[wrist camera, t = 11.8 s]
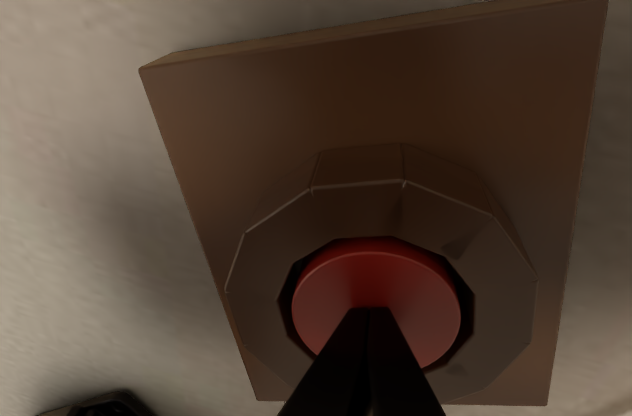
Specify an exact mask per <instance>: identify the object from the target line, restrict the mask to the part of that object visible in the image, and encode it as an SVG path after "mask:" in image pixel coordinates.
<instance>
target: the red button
mask: <svg viewBox="0 0 632 416" xmlns="http://www.w3.org/2000/svg"><path fill="white" fill-rule="evenodd" d="M353 307H367V308H368V309H369V310H370V308H371V307H388V308H389V309H390V310H391V312H392V314H393V316H394V318H395V319H396V321H397V323H398V325H399V327H400V329H401V331H402V333H403V335H404V337H405V338H406V340H407V342H408V344H409V346H410V348H411V350H412V352H413V354H414V356H415V357H416V359H417V361H418V363H419V365H420V367H421V368H423V367H425V366H427V365H429V364H431V363H433V362H434V361H436V360H437V359H439V358H440V357H441V356H442V355H443V354H444V353H445V352H446V351H447V350H448V349H449V348H450V347H451V345H452V344H453V342H454V341H455V339H456V336H457V334H458V331H459V328H460V323H461V310H460V305H459V300H458V295H457V290H456V286H455V281H454V276H453V272H452V267H451V264H450V263H449V262H448V260H447V259H446V258H445V257H444V256H442V255H439V254H437V253H434V252H432V251H429V250H427V249H424V248H422V247H419V246H416V245H414V244H411V243H409V242H406V241H404V240H401V239H399V238H396V237H394V236H375V237H358V238H341V239H334V240H332V241H331V242H329V243H327V244H326V245H324V246H322V247H320V248H319V249H317V250H315V251H314V252H312V253H310V254H309V255H307V256H305V257H304V258H303V261H302V265H301V269H300V272H299V276H298V280H297V283H296V287H295V291H294V295H293V299H292V318H293V322H294V325H295V328H296V330H297V332H298V334H299V336H300V338H301V339H302V340H303V342H304V343H305V344H306V345H307V346H308V347H309V349H310V350H312V351H313V352H314V353H315V354H316V355H318V354H319V352H320V351H321V349H322V348H323V347H324V345H325V344H326V342H327V341H328V339H329V338H330V336H331V335H332V333H333V332H334V330H335V329H336V327H337V326H338V324H339V323H340V321H341V320H342V318H343V317H344V315H345V314H346V312H347V311H348V310H349V309H350V308H353Z"/></svg>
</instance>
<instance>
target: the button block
mask: <svg viewBox="0 0 632 416" xmlns="http://www.w3.org/2000/svg"><path fill="white" fill-rule="evenodd" d="M608 2H609V0H494V1H488V2H482V3H476V4H469V5H463V6H457V7H451V8H445V9H438V10H432V11H426V12H420V13H414V14H408V15H401V16H395V17H389V18H383V19H377V20H371V21H364V22H358V23H352V24H346V25H340V26H334V27H327V28H321V29H315V30H309V31H303V32H296V33H290V34H284V35H278V36H272V37H266V38H259V39H253V40H247V41H241V42H235V43H229V44H222V45H216V46H210V47H204V48H198V49H192V50H185V51H179V52H173V53H170V54H168V55H166V56H164V57H161V58H159V59H157V60H155V61H153V62H150V63H148V64H146V65H144V66H142V67H140V68H139V74H140V77H141V80H142V82H143V85H144V88H145V91H146V94H147V96H148V99H149V102H150V105H151V107H152V110H153V113H154V116H155V119H156V121H157V124H158V127H159V130H160V132H161V135H162V138H163V141H164V143H165V146H166V149H167V152H168V155H169V157H170V160H171V163H172V166H173V168H174V171H175V174H176V177H177V180H178V182H179V185H180V188H181V191H182V193H183V196H184V199H185V202H186V204H187V207H188V210H189V213H190V216H191V218H192V221H193V224H194V227H195V229H196V232H197V235H198V238H199V241H200V243H201V246H202V249H203V252H204V254H205V257H206V260H207V263H208V265H209V268H210V271H211V274H212V277H213V279H214V282H215V285H216V288H217V290H218V293H219V296H220V299H221V302H222V304H223V307H224V310H225V313H226V315H227V318H228V321H229V324H230V326H231V329H232V332H233V335H234V338H235V340H236V343H237V346H238V349H239V351H240V354H241V357H242V360H243V363H244V365H245V368H246V371H247V374H248V376H249V379H250V382H251V385H252V387H253V390H254V393H255V396H256V399H257V400H258V401H287V400H288V398H289V397H290V395H291V394H292V392H293V391H294V389H295V388H296V386H297V385H298V384H299V382H300V381H301V379H302V378H303V376H304V375H305V373H306V372H307V370H308V369H309V367H310V366H311V364H312V363H313V361H314V360H315V358H316V357H317V355H316V354H315V353H314V352H313V351H312V350H310V349H309V347H308V346H307V345H306V344H305V343H304V342H303V340H302V339H301V338H300V336H299V334H298V332H297V330H296V328H295V325H294V322H293V318H292V299H293V295H294V291H295V287H296V283H297V280H298V276H299V272H300V269H301V265H302V261H303V258H304V257H305V256H307V255H309V254H310V253H312V252H314V251H315V250H317V249H319V248H320V247H322V246H324V245H326V244H327V243H329V242H331V241H332V240H334V239H341V238H358V237H375V236H394V237H396V238H399V239H401V240H404V241H406V242H409V243H411V244H414V245H416V246H419V247H422V248H424V249H427V250H429V251H432V252H434V253H437V254H439V255H442V256H444V257H445V258H446V259H447V260H448V262H449V263H450V264H451V267H452V272H453V276H454V281H455V286H456V290H457V295H458V300H459V305H460V310H461V323H460V328H459V331H458V334H457V336H456V339H455V341H454V342H453V344H452V345H451V347H450V348H449V349H448V350H447V351H446V352H445V353H444V354H443V355H442V356H441V357H440V358H439V359H437V360H436V361H434V362H433V363H431V364H429V365H427V366H425V367H423V368H421V369H422V371H423V373H424V375H425V376H426V378H427V380H428V382H429V384H430V386H431V388H432V390H433V392H434V394H435V395H436V397H437V399H438V401H439V403H440V405H442V404H453V405H506V406H546V405H547V402H548V395H549V389H550V382H551V376H552V369H553V363H554V356H555V350H556V343H557V336H558V330H559V323H560V317H561V310H562V304H563V297H564V290H565V284H566V277H567V271H568V264H569V258H570V251H571V244H572V238H573V231H574V225H575V218H576V212H577V205H578V199H579V192H580V185H581V179H582V172H583V166H584V159H585V153H586V146H587V139H588V133H589V126H590V120H591V113H592V107H593V100H594V93H595V87H596V80H597V74H598V67H599V61H600V54H601V48H602V41H603V34H604V28H605V21H606V15H607V8H608Z"/></svg>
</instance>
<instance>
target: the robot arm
mask: <svg viewBox="0 0 632 416" xmlns="http://www.w3.org/2000/svg"><path fill="white" fill-rule="evenodd" d="M37 416H152V415H151V414H150V413H149V412H148V411H147V410H146V409H145V408H143V407H142V406H141V405H140V404H139V403H138V402H137V401H136V400H135V399H134V398H133V397H132V396H130V395H129V394H127V393H125V392H121V391H117V392H112V393H109V394H106V395H103V396H99V397H96V398H93V399H89V400H86V401H83V402H79V403H76V404H73V405H70V406H66V407H63V408H60V409H56V410H53V411H50V412H46V413H43V414H40V415H37ZM277 416H446V414H445V413H444V411H443V409H442V407H441V405H440V403H439V401H438V399H437V397H436V395H435V394H434V392H433V390H432V388H431V386H430V384H429V382H428V380H427V378H426V376H425V375H424V373H423V371H422V369H421V367H420V365H419V363H418V361H417V359H416V357H415V356H414V354H413V352H412V350H411V348H410V346H409V344H408V342H407V340H406V338H405V337H404V335H403V333H402V331H401V329H400V327H399V325H398V323H397V321H396V319H395V318H394V316H393V314H392V312H391V310H390V309H389V308H388V307H371V308H370V310H369V309H368V308H367V307H353V308H350V309H349V310H348V311H347V312H346V314H345V315H344V317H343V318H342V320H341V321H340V323H339V324H338V326H337V327H336V329H335V330H334V332H333V333H332V335H331V336H330V338H329V339H328V341H327V342H326V344H325V345H324V347H323V348H322V349H321V351H320V352H319V354H318V355H317V357H316V358H315V360H314V361H313V363H312V364H311V366H310V367H309V369H308V370H307V372H306V373H305V375H304V376H303V378H302V379H301V381H300V382H299V384H298V385H297V386H296V388H295V389H294V391H293V392H292V394H291V395H290V397H289V398H288V400H287V401H286V403H285V404H284V406H283V407H282V409H281V410H280V412H279V413H278V415H277Z"/></svg>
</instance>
